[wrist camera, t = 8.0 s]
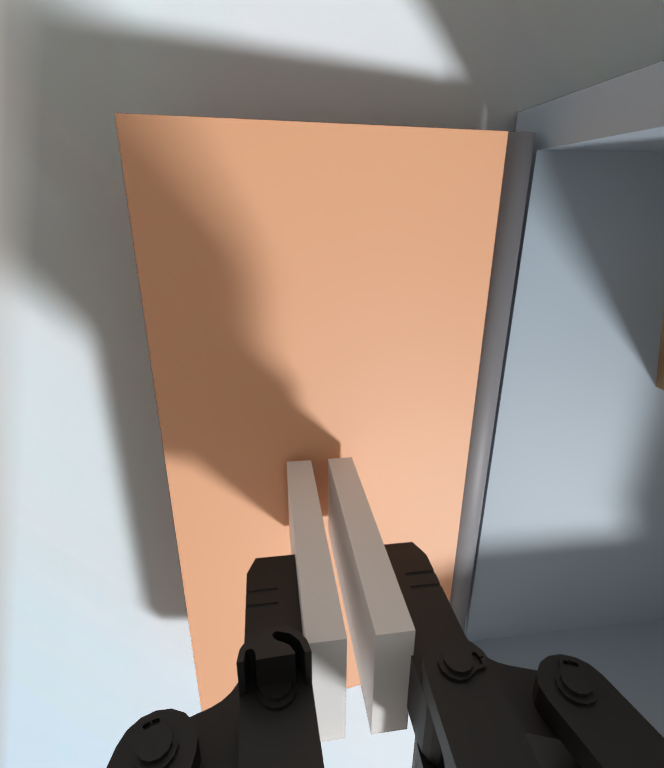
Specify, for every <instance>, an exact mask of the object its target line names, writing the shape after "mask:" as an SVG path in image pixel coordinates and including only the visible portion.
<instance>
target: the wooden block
mask: <svg viewBox="0 0 664 768" xmlns="http://www.w3.org/2000/svg"><path fill="white" fill-rule="evenodd" d="M656 387H658V388H660V389H662V390H664V311H663V321H662V331H661V340H660V350H659V360H658V370H657V379H656Z"/></svg>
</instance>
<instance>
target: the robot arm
mask: <svg viewBox="0 0 664 768" xmlns="http://www.w3.org/2000/svg"><path fill="white" fill-rule="evenodd" d="M287 482H288V510H289V535H290V547H291V555H283V556H273V557H262V558H255V560H254V562H253V564H252V565H251V567H250V569H249V571H248V573H247V581H246V609H245V636H244V644H243V645H242V647H241V648H240V650H239V653H238V658H237V662H236V665H237V675H238V683H237V685H236V686H235V687H234V689H233V690H232V692H231V693H230V694H229V695H228V696H226V697H225V698H224V699H223V700H222V701H221V702H219V703H217V704H216V705H214V706H212V707H211V708H209V709H206V710H204V711H202V712H200V713H198V714H196V715H194V716H192V717H189V716H188V715H187V714H186V713H184V712H181V711H178V710H174V709H165V710H157V711H154V712H152V713H150V714H148V715H146V716H144V717H142V718H140V719H139V720H138V721H137V722H136V723H135V724H134V725H132V726H131V727H130V728H129V729H128V730H127V731H126V732H125V734H124V736H123V737H122V739H121V740H120V742H119V743H118V745H117V746H116V748H115V751H114V753H113V755H112V757H111V759H110V761H109V764H108V766H107V768H324V763H323V756H322V749H321V742H324V741H330V740H337V739H343V738H345V727H346V674H347V635H346V630H345V625H344V621H343V616H342V611H341V606H340V601H339V596H338V591H337V586H336V581H335V576H334V571H333V566H332V561H331V556H330V551H329V546H328V542H327V537H326V532H325V527H324V522H323V517H322V512H321V507H320V502H319V497H318V492H317V487H316V482H315V477H314V472H313V467H312V463H311V460H304V461H290V462H287ZM328 532H329V537H330V541H331V546H332V551H333V556H334V560H335V565H336V570H337V575H338V579H339V584H340V589H341V593H342V598H343V603H344V608H345V612H346V617H347V622H348V627H349V631H350V636H351V641H352V646H353V650H354V655H355V660H356V665H357V669H358V674H359V679H360V683H361V688H362V693H363V698H364V702H365V707H366V712H367V717H368V721H369V726H370V731H371V734H377V733H383V732H390V731H397V730H403V729H407V722H408V712H409V716H410V719H411V723H412V726H413V729H414V733H415V743H414V754H413V764H412V768H664V737H663V736H662V735H661V734H660V733H659V732H658V731H657V730H656V729H655V728H654V727H653V726H652V725H651V724H650V723H649V722H648V721H647V720H646V719H645V718H644V717H643V716H642V715H641V714H640V713H639V712H638V711H637V709H636V708H635V707H634V706H633V705H632V704H631V703H630V702H629V701H628V700H627V699H626V698H625V697H624V696H623V695H622V694H621V693H620V692H619V691H618V690H617V689H616V688H615V687H614V686H613V685H612V684H611V683H610V682H609V681H608V680H607V679H606V678H605V677H604V676H603V675H602V674H601V673H600V672H599V671H597V670H596V669H595V668H594V667H593V666H591V665H590V664H589V663H586V662H584V661H582V660H580V659H578V658H576V657H573V656H568V655H563V654H557V655H551V656H548V657H546V658H545V659H543V660H542V661H541V662H540V664H539V667H538V670H532V669H527V668H521V667H516V666H510V665H506V664H502V663H499V662H496V661H494V660H492V659H490V658H488V657H487V656H486V654H485V653H484V652H483V650H481V649H480V648H479V647H478V646H476V645H475V644H474V643H472V642H471V641H469V640H468V639H467V637H466V636H465V634H464V632H463V630H462V628H461V625H460V623H459V621H458V619H457V617H456V615H455V613H454V611H453V609H452V607H451V605H450V603H449V600H448V598H447V596H446V594H445V592H444V590H443V588H442V586H440V582H439V580H438V578H437V576H436V573H434V569H433V567H432V565H431V563H430V561H429V559H428V557H427V555H426V554H425V553H424V552H423V551H422V550H421V549H420V548H419V547H418V546H416V545H415V544H414V543H413V542H405V543H394V544H384V543H383V541H382V538H381V535H380V532H379V530H378V527H377V524H376V522H375V519H374V516H373V513H372V511H371V508H370V505H369V503H368V500H367V497H366V494H365V492H364V489H363V486H362V484H361V481H360V478H359V475H358V473H357V470H356V467H355V465H354V462H353V459H352V457H347V458H333V459H328Z"/></svg>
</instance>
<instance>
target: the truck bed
mask: <svg viewBox="0 0 664 768" xmlns="http://www.w3.org/2000/svg"><path fill="white" fill-rule="evenodd" d="M515 131H526V132H534V133H536V134H535V141H534V148H533V155H532V162H531V169H530V176H529V183H528V190H527V197H526V204H525V211H524V218H523V225H522V232H521V239H520V246H519V253H518V260H517V267H516V274H515V281H514V288H513V295H512V302H511V309H510V316H509V323H508V330H507V337H506V344H505V351H504V358H503V365H502V372H501V378H500V385H499V392H498V399H497V406H496V413H495V420H494V427H493V434H492V441H491V448H490V455H489V462H488V469H487V476H486V483H485V490H484V497H483V504H482V511H481V518H480V525H479V532H478V539H477V546H476V553H475V560H474V567H473V574H472V581H471V588H470V595H469V602H468V609H467V616H466V623H465V630H464V634H465V636H466V637H467V639H468V640H469V641H471V642H472V643H474V644H475V645H476V646H478V647H479V648H480V649H481V650H483V652H484V653H485V654H486V656H487V657H488V658H490V659H492V660H494V661H496V662H499V663H502V664H506V665H510V666H516V667H521V668H527V669H532V670H538V667H539V664H540V662H541V661H542V660H543V659H545V658H546V657H548V656H551V655H557V654H563V655H568V656H573V657H576V658H578V659H580V660H582V661H584V662H586V663H589V664H590V665H591V666H593V667H594V668H595V669H596V670H597V671H599V672H600V673H601V674H602V675H603V676H604V677H605V678H606V679H607V680H608V681H609V682H610V683H611V684H612V685H613V686H614V687H615V688H616V689H617V690H618V691H619V692H620V693H621V694H622V695H623V696H624V697H625V698H626V699H627V700H628V701H629V702H630V703H631V704H632V705H633V706H634V707H635V708H636V709H637V711H638V712H639V713H640V714H641V715H642V716H643V717H644V718H645V719H646V720H647V721H648V722H649V723H650V724H651V725H652V726H653V727H654V728H655V729H656V730H657V731H658V732H659V733H660V734H661V735H662V736H663V737H664V390H662V389H660V388H658V387H656V379H657V370H658V360H659V350H660V340H661V331H662V321H663V311H664V60H663V61H660V62H657V63H655V64H652V65H649V66H646V67H643V68H641V69H638V70H635V71H632V72H629V73H627V74H624V75H621V76H618V77H615V78H613V79H610V80H607V81H604V82H601V83H599V84H596V85H593V86H590V87H587V88H585V89H582V90H579V91H576V92H573V93H571V94H568V95H565V96H562V97H559V98H557V99H554V100H551V101H548V102H545V103H543V104H540V105H537V106H534V107H531V108H529V109H526V110H523V111H520V112H518V113H517V121H516V129H515Z"/></svg>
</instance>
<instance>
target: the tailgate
mask: <svg viewBox="0 0 664 768" xmlns="http://www.w3.org/2000/svg"><path fill="white" fill-rule="evenodd" d="M115 120H116V127H117V134H118V140H119V147H120V154H121V161H122V168H123V175H124V182H125V188H126V195H127V202H128V209H129V216H130V223H131V230H132V237H133V243H134V250H135V257H136V264H137V271H138V278H139V285H140V291H141V298H142V305H143V312H144V319H145V326H146V333H147V340H148V346H149V353H150V360H151V367H152V374H153V381H154V388H155V394H156V401H157V408H158V415H159V422H160V429H161V436H162V442H163V449H164V456H165V463H166V470H167V477H168V484H169V491H170V497H171V504H172V511H173V518H174V525H175V532H176V539H177V545H178V552H179V559H180V566H181V573H182V580H183V587H184V594H185V600H186V607H187V614H188V621H189V628H190V635H191V642H192V648H193V655H194V662H195V669H196V676H197V683H198V690H199V696H200V703H201V710H202V711H204V710H206V709H209V708H211V707H212V706H214V705H216V704H217V703H219V702H221V701H222V700H223V699H224V698H225V697H226V696H228V695H229V694H230V693H231V692H232V690H233V689H234V687H235V686H236V685H237V683H238V675H237V665H236V662H237V658H238V653H239V650H240V648H241V647H242V645H243V644H244V636H245V609H246V581H247V573H248V571H249V569H250V567H251V565H252V564H253V562H254V560H255V558H262V557H273V556H283V555H291V547H290V535H289V510H288V482H287V462H290V461H304V460H311V463H312V467H313V472H314V477H315V482H316V487H317V492H318V497H319V502H320V507H321V512H322V517H323V522H324V527H325V532H326V537H327V542H328V546H329V551H330V556H331V561H332V566H333V571H334V576H335V581H336V586H337V591H338V596H339V601H340V606H341V611H342V616H343V621H344V625H345V630H346V635H347V674H346V688H350V687H354V686H358V685H361V683H360V679H359V674H358V669H357V665H356V660H355V655H354V650H353V646H352V641H351V636H350V631H349V627H348V622H347V617H346V612H345V608H344V603H343V598H342V593H341V589H340V584H339V579H338V575H337V570H336V565H335V560H334V556H333V551H332V546H331V541H330V537H329V532H328V459H333V458H347V457H352V459H353V462H354V465H355V467H356V470H357V473H358V475H359V478H360V481H361V484H362V486H363V489H364V492H365V494H366V497H367V500H368V503H369V505H370V508H371V511H372V513H373V516H374V519H375V522H376V524H377V527H378V530H379V532H380V535H381V538H382V541H383V543H384V544H394V543H405V542H413V543H414V544H415V545H416V546H418V547H419V548H420V549H421V550H422V551H423V552H424V553H425V554H426V555H427V557H428V559H429V561H430V563H431V565H432V567H433V569H434V573H436V576H437V578H438V580H439V582H440V586H442V588H443V590H444V592H445V594H446V596H447V598H448V600H449V603H450V605H451V607H452V609H453V611H454V613H455V615H456V617H457V619H458V621H459V623H460V625H461V628H462V630H463V632H464V630H465V623H466V616H467V609H468V602H469V595H470V588H471V581H472V574H473V567H474V560H475V553H476V546H477V539H478V532H479V525H480V518H481V511H482V504H483V497H484V490H485V483H486V476H487V469H488V462H489V455H490V448H491V441H492V434H493V427H494V420H495V413H496V406H497V399H498V392H499V385H500V378H501V372H502V365H503V358H504V351H505V344H506V337H507V330H508V323H509V316H510V309H511V302H512V295H513V288H514V281H515V274H516V267H517V260H518V253H519V246H520V239H521V232H522V225H523V218H524V211H525V204H526V197H527V190H528V183H529V176H530V169H531V162H532V155H533V148H534V141H535V134H536V133H534V132H526V131H515V132H508V131H491V130H470V129H448V128H427V127H405V126H384V125H362V124H341V123H319V122H298V121H276V120H255V119H233V118H212V117H190V116H169V115H147V114H126V113H115Z"/></svg>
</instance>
